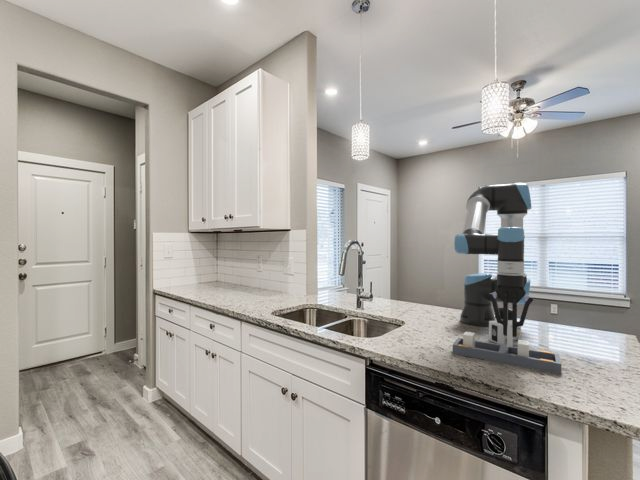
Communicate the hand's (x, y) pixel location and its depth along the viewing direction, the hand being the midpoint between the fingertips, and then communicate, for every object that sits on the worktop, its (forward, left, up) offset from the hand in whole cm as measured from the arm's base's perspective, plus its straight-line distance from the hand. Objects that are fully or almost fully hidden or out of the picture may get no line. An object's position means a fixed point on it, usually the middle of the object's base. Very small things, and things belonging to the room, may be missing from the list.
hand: (509, 345), depth 105 cm
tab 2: (0, +4, -3) cm, 5 cm away
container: (-19, -3, -5) cm, 20 cm away
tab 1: (0, -12, -3) cm, 13 cm away
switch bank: (0, -2, -5) cm, 5 cm away
